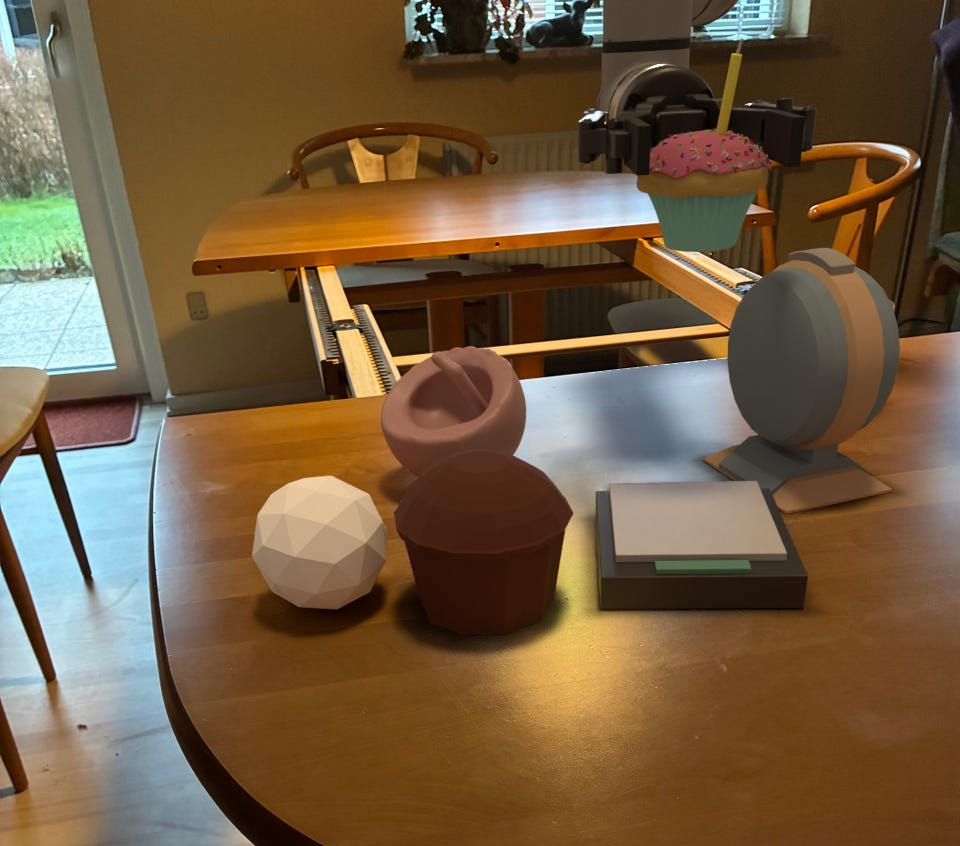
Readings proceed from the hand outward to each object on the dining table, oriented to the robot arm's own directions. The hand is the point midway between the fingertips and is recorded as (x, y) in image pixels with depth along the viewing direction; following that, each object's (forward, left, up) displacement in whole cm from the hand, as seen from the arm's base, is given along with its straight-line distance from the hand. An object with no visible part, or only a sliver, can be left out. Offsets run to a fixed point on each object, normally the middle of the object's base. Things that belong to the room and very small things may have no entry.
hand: (720, 146), depth 59 cm
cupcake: (0, -5, -7) cm, 8 cm away
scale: (+1, +4, -26) cm, 26 cm away
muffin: (+15, +10, -26) cm, 32 cm away
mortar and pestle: (+19, -11, -26) cm, 34 cm away
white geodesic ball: (+26, +8, -26) cm, 37 cm away
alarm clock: (-9, -11, -26) cm, 30 cm away
